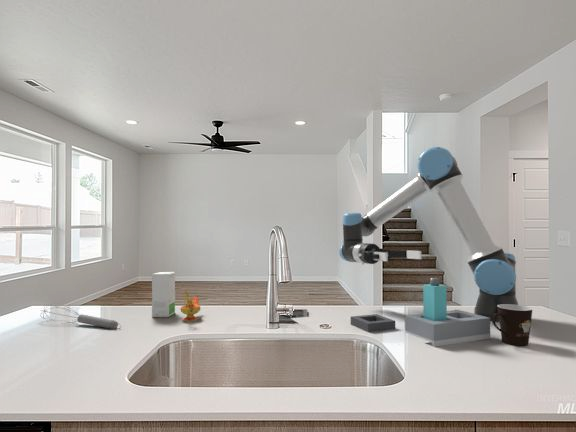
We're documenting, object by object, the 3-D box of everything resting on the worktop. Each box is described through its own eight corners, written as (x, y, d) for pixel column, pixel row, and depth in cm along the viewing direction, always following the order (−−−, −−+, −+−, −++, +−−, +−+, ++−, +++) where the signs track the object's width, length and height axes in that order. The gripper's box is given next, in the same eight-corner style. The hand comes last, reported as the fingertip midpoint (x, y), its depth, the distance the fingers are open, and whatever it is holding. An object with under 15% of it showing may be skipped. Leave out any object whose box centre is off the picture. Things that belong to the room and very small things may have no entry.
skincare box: (168, 317, 140) (169, 274, 141) (150, 317, 140) (150, 274, 141) (175, 312, 149) (176, 271, 149) (158, 312, 149) (158, 271, 149)
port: (458, 328, 126) (458, 309, 126) (490, 338, 115) (490, 317, 115) (405, 335, 118) (405, 315, 118) (433, 346, 107) (433, 324, 107)
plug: (435, 330, 118) (435, 277, 118) (446, 334, 113) (446, 279, 114) (423, 332, 116) (423, 277, 116) (434, 336, 112) (434, 279, 112)
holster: (376, 324, 131) (376, 314, 131) (395, 332, 121) (395, 320, 122) (350, 327, 127) (350, 316, 127) (367, 335, 118) (367, 323, 118)
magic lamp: (206, 312, 148) (207, 283, 149) (194, 324, 130) (195, 291, 131) (188, 312, 149) (189, 283, 149) (174, 324, 131) (174, 291, 131)
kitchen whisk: (113, 332, 122) (113, 311, 122) (35, 323, 133) (35, 305, 133) (127, 327, 127) (128, 308, 128) (51, 319, 139) (51, 301, 139)
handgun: (272, 312, 151) (268, 324, 133) (272, 307, 151) (268, 318, 133) (307, 313, 150) (307, 325, 132) (307, 308, 150) (307, 319, 132)
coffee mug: (523, 339, 114) (523, 304, 115) (539, 348, 106) (538, 310, 106) (481, 337, 115) (481, 303, 116) (494, 346, 107) (493, 309, 107)
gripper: (394, 261, 152) (434, 265, 132) (338, 265, 142) (371, 269, 123) (394, 242, 152) (433, 243, 132) (337, 244, 142) (371, 245, 123)
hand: (404, 256), depth 127 cm, fingers open, 13 cm apart
